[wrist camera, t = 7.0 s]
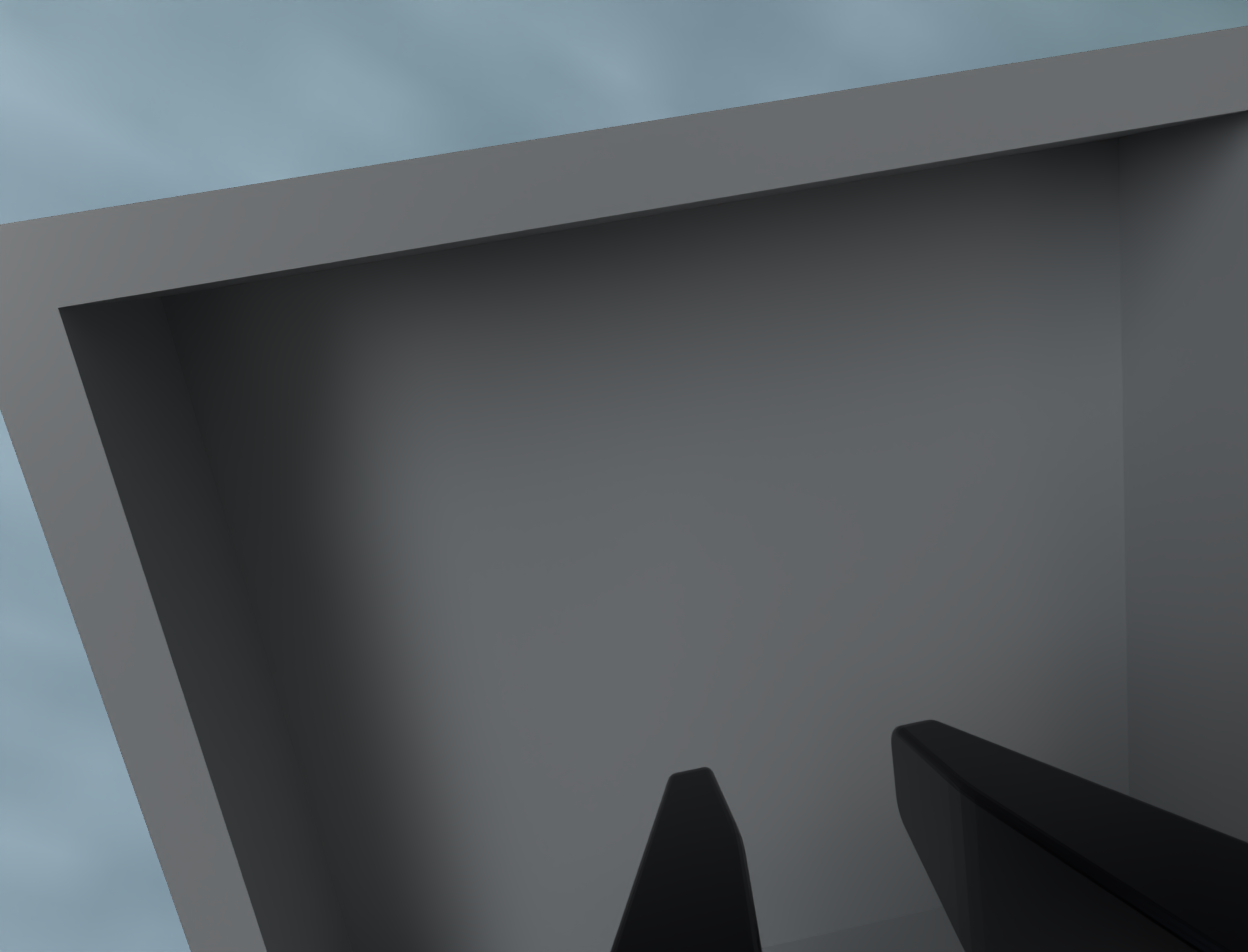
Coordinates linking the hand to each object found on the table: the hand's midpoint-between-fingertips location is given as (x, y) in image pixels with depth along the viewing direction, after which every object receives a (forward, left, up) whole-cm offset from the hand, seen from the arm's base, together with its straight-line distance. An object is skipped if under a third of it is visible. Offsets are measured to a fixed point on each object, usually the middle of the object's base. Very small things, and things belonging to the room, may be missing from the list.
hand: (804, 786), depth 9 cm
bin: (0, 0, -4) cm, 4 cm away
